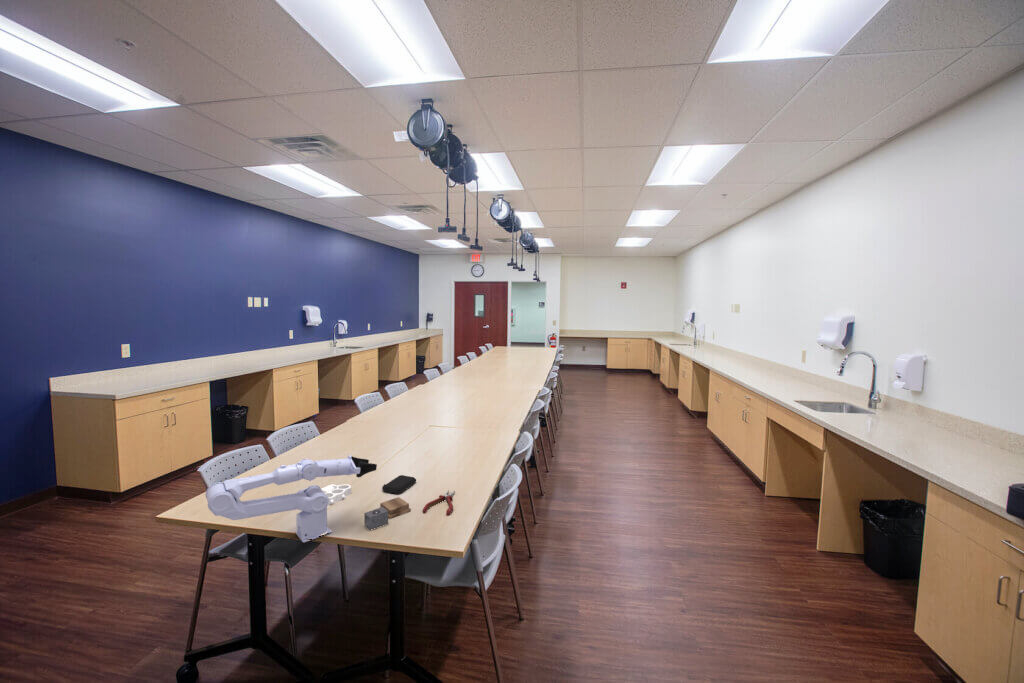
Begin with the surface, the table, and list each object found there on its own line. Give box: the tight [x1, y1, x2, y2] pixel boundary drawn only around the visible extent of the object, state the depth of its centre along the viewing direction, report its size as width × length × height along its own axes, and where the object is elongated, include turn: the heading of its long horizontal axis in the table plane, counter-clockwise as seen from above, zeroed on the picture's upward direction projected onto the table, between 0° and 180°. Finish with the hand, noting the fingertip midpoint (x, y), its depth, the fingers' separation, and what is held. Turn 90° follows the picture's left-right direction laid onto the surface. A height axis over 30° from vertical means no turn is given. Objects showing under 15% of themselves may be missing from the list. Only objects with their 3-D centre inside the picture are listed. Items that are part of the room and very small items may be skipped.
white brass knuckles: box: [320, 483, 352, 506], centre depth 170 cm, size 3×18×15 cm
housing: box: [363, 506, 389, 531], centre depth 150 cm, size 4×7×5 cm, turn 134°
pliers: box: [422, 489, 456, 517], centre depth 168 cm, size 12×20×3 cm, turn 170°
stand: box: [379, 496, 412, 520], centre depth 161 cm, size 9×9×3 cm
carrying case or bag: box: [381, 474, 417, 495], centre depth 183 cm, size 11×3×15 cm
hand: (372, 464), depth 156 cm, fingers open, 7 cm apart
